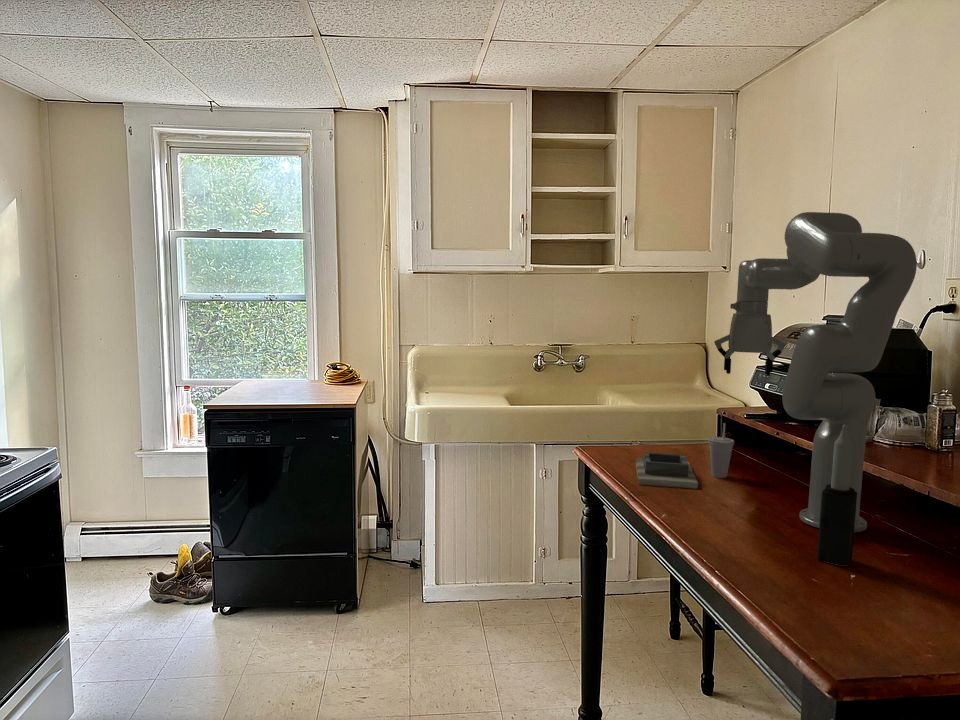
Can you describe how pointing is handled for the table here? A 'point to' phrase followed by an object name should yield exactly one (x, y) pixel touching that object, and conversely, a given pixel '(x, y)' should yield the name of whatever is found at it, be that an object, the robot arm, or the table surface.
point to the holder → (665, 471)
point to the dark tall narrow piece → (838, 507)
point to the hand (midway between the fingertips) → (747, 374)
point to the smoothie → (720, 454)
